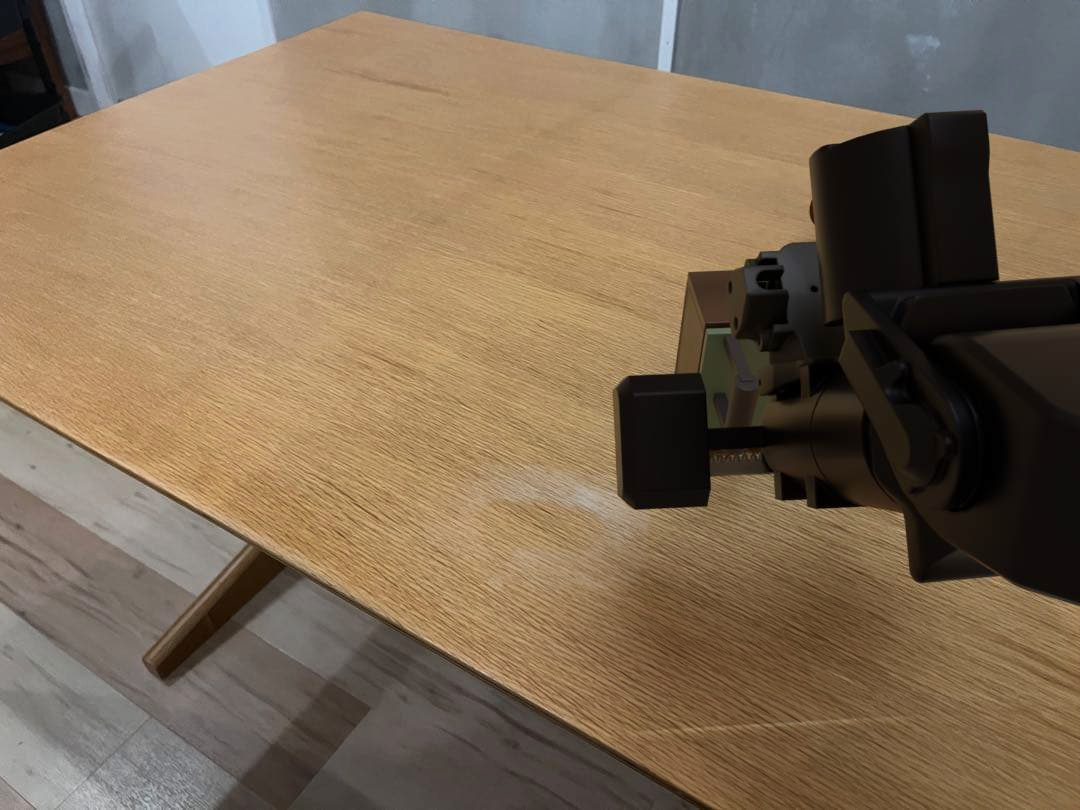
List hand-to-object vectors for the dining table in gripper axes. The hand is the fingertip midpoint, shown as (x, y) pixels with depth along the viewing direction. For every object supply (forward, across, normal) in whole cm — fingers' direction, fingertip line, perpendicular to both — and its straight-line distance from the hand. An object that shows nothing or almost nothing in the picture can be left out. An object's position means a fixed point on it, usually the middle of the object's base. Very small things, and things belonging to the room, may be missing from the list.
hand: (761, 434), depth 47 cm
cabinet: (+16, -6, -1) cm, 17 cm away
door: (+11, -2, +3) cm, 12 cm away
